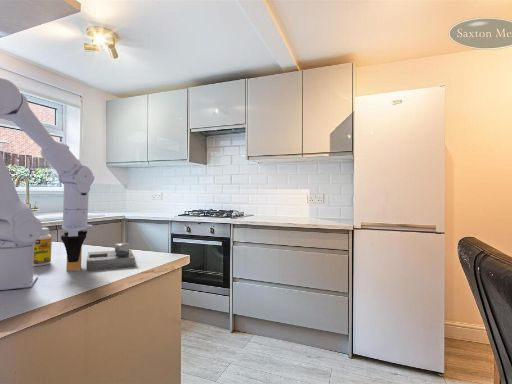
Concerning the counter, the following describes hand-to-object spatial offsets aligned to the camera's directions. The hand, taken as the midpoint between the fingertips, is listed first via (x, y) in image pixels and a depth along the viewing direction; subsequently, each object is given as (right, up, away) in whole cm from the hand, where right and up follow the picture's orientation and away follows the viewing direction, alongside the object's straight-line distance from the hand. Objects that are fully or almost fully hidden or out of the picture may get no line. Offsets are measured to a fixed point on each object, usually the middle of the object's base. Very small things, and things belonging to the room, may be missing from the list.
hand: (74, 259), depth 79 cm
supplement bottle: (-12, -3, +4) cm, 13 cm away
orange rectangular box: (0, -3, 0) cm, 3 cm away
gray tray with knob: (+6, -3, +7) cm, 10 cm away
